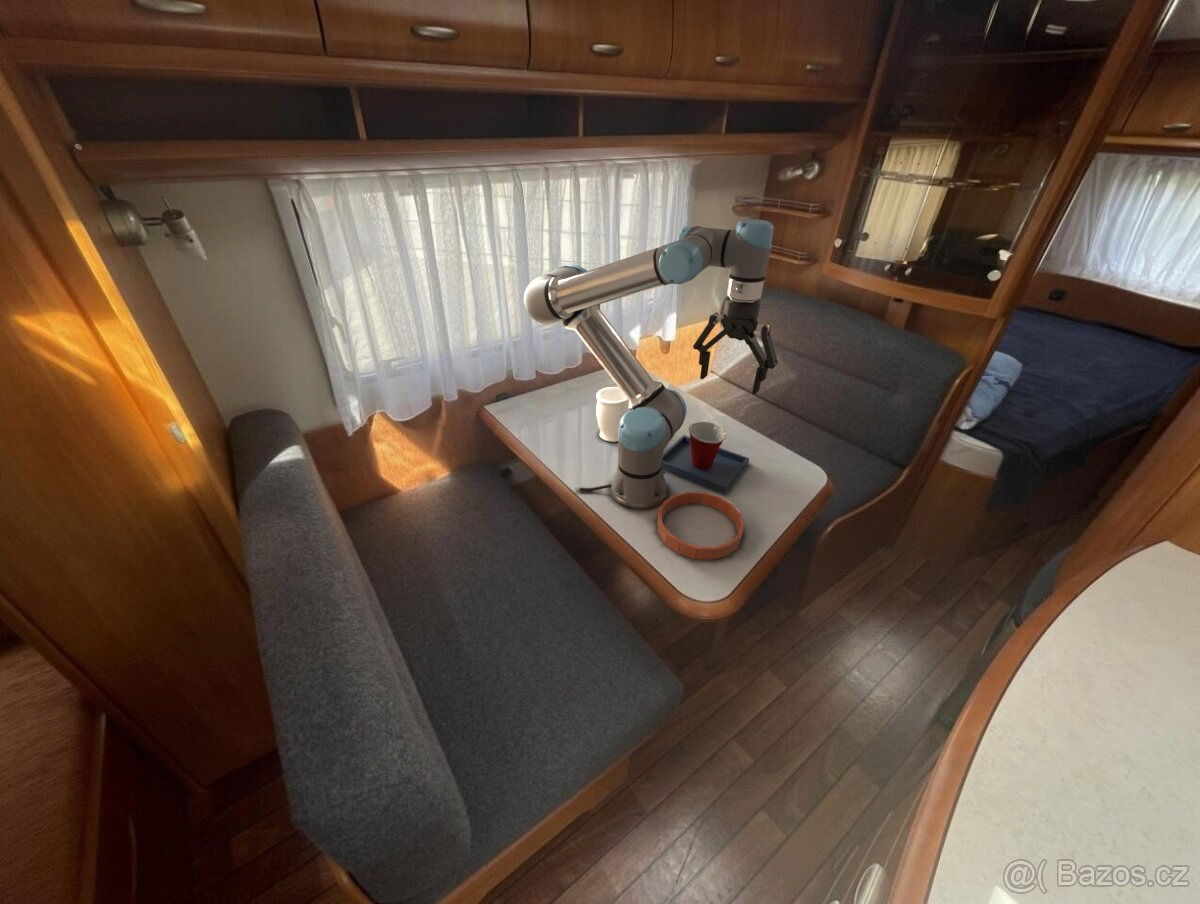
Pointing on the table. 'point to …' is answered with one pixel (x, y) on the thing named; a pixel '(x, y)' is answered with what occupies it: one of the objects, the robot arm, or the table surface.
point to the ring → (693, 550)
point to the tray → (715, 478)
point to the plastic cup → (705, 443)
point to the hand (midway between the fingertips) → (728, 384)
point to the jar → (610, 411)
